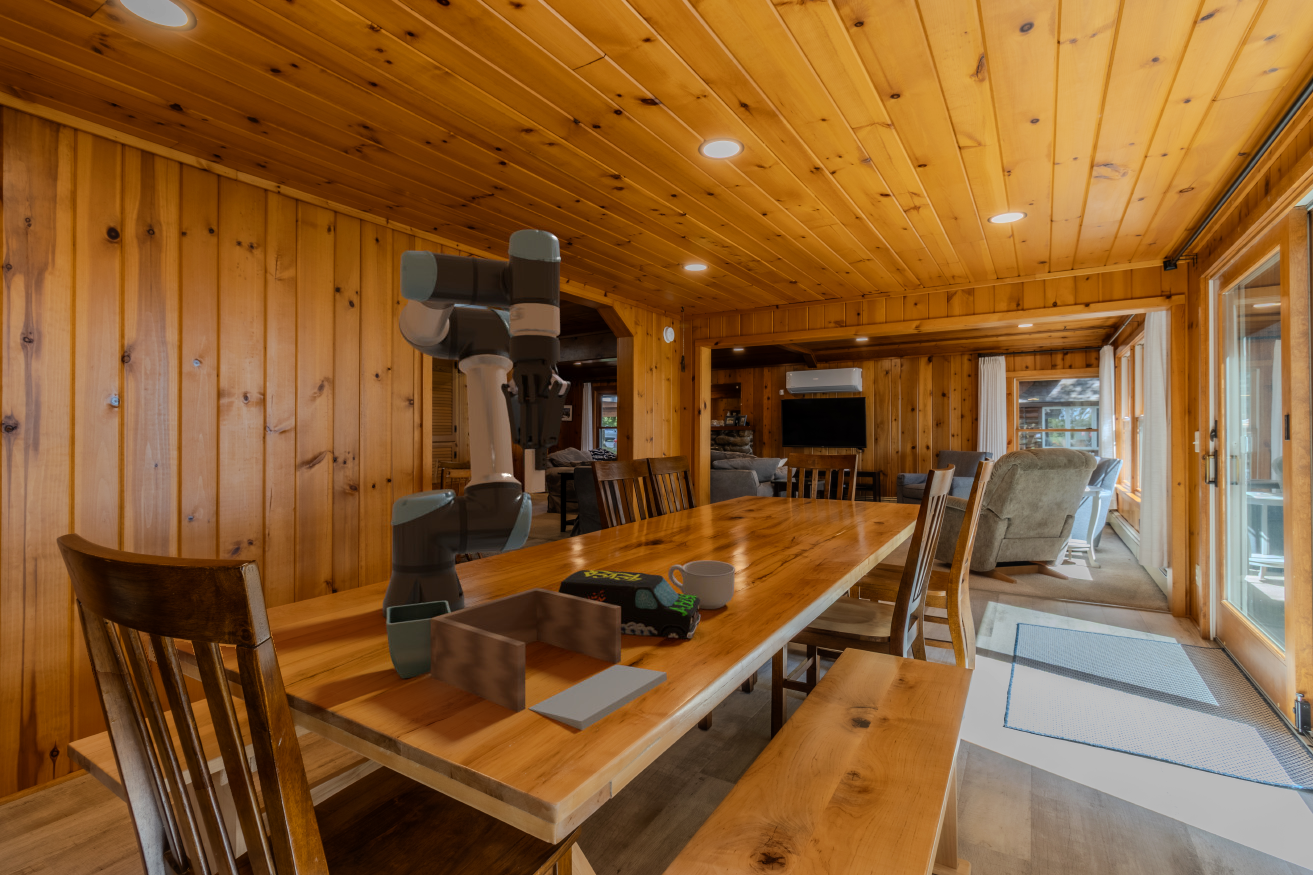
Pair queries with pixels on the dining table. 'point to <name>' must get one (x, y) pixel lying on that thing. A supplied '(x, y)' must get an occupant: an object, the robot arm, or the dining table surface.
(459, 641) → the crate
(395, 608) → the flower pot
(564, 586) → the toy van
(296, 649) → the dining table surface
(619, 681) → the panel
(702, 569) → the teacup
